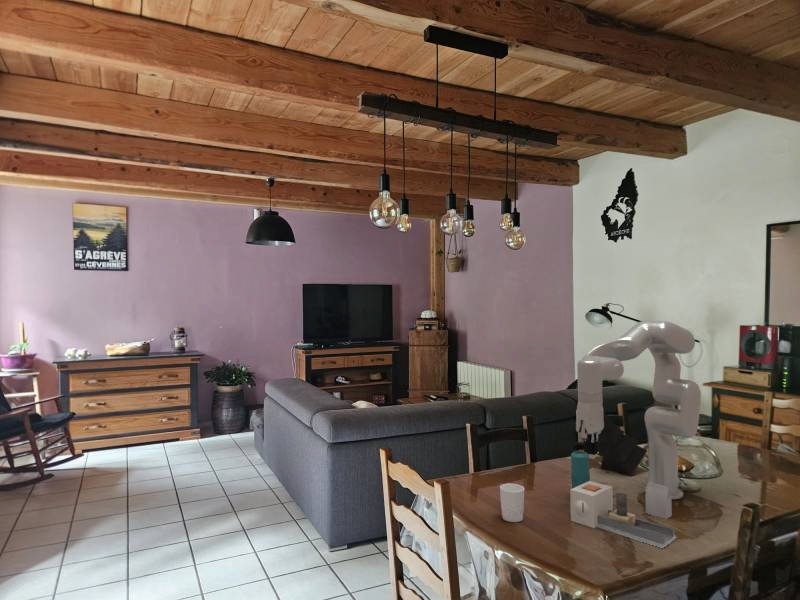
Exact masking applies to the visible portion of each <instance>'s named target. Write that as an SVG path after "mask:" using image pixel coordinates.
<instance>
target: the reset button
mask: <svg viewBox="0 0 800 600" xmlns="http://www.w3.org/2000/svg"><path fill="white" fill-rule="evenodd" d="M582 489H586V490H589V491H593V492H595V491H598V490H600V487H597V486H594V485H590V484H588V485H586V486H584V487H582Z"/></svg>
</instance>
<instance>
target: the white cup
mask: <svg viewBox="0 0 800 600" xmlns="http://www.w3.org/2000/svg"><path fill="white" fill-rule="evenodd" d="M499 495H500V497H499V498H500V508H501V518H502V519H503V520H504V521H506V522H510V523H517V522H518V523H519V522H522V521H523V520H524V508H525V487H524V486H523V485H520V484H517V483H504V484H501V485H500V486H499Z"/></svg>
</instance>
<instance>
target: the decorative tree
mask: <svg viewBox="0 0 800 600" xmlns="http://www.w3.org/2000/svg"><path fill="white" fill-rule="evenodd" d="M603 414H604V428H603V430H601V433H600V434H599V435H598V441H597V442H600V445H599V451H598V454H597V456H599V457H602V460H601V464H600V468H601V469H606V470H608V471H612V472H615V473H617V474H620V473H621V474H620V475H623V474H624V476H627V475H628V477H632V475H633V474H634V472H635V471H636V469H637V468H638V466H639V465H640V463H641V462H642V460H643V458H644V457H645V455H646V454H647V453H648V450H647V449H645V448H644V447H641V446H640V445H638V443H639V440H637V439H636V438H634V437H631V436H628V435H626V434H625V433H626V431H624V430H622V429H621V428H620V427H619V426H618V425H617V424H615V420H614V419H613V418H612V417H611V416H610V415H608V414H606V413H605V412H604V411H603Z"/></svg>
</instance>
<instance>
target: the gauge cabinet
mask: <svg viewBox="0 0 800 600" xmlns="http://www.w3.org/2000/svg"><path fill="white" fill-rule="evenodd" d="M588 484H590V485H594V486H597V487H600V490H598V491H595V492H593V491H589V490H586V489H582V487H584V486H586V485H588ZM569 492H570V493H569V495H570V497H569V499H570V521H571V522H574V523H577V524H580V525H583V526H585V527H588V528H592V529H596V528H598V527H597V525H596V523H598V518H597V516H599V515H600V516H603V517H606V518H607V517H608V510H612V511H614V508H613V507H614V505H613V503H614V502H613V501H614V500H613V498H614V496H613V486H610V485H606V484H603V483H598V482H595V481H591V480H590V481H588V482H586V483H584V484H582V485H579V486H577V487H575V488H573V489H572V488H571V489H570V491H569Z"/></svg>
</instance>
